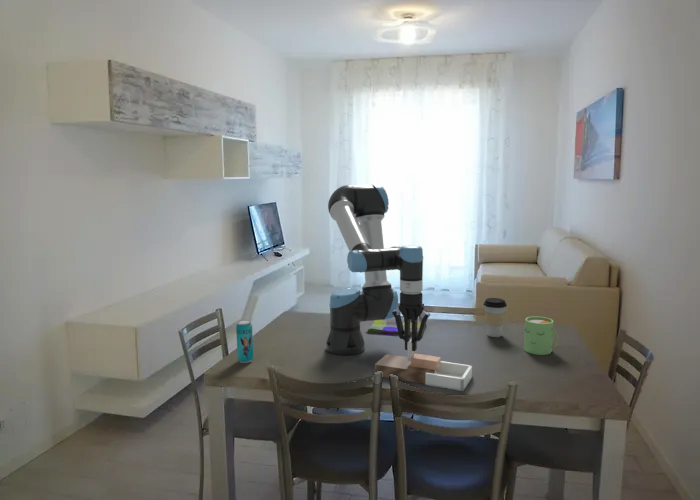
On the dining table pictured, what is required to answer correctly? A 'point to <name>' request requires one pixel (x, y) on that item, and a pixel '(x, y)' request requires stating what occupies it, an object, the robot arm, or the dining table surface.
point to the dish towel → (388, 328)
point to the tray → (450, 376)
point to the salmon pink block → (418, 360)
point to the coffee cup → (494, 316)
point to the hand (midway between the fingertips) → (410, 359)
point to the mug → (539, 335)
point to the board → (401, 369)
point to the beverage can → (244, 341)
